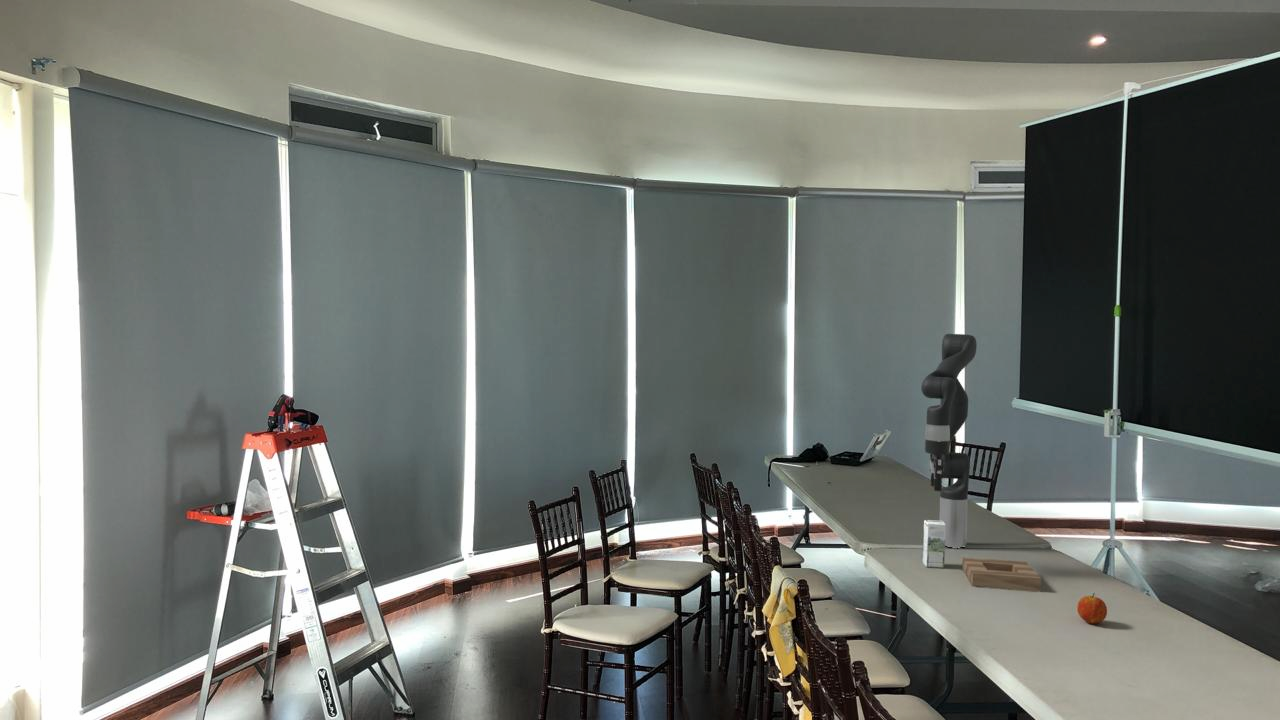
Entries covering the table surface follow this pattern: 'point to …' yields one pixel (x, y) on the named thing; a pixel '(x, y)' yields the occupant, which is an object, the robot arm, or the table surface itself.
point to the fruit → (1092, 609)
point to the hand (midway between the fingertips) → (935, 488)
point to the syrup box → (934, 543)
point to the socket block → (1001, 574)
